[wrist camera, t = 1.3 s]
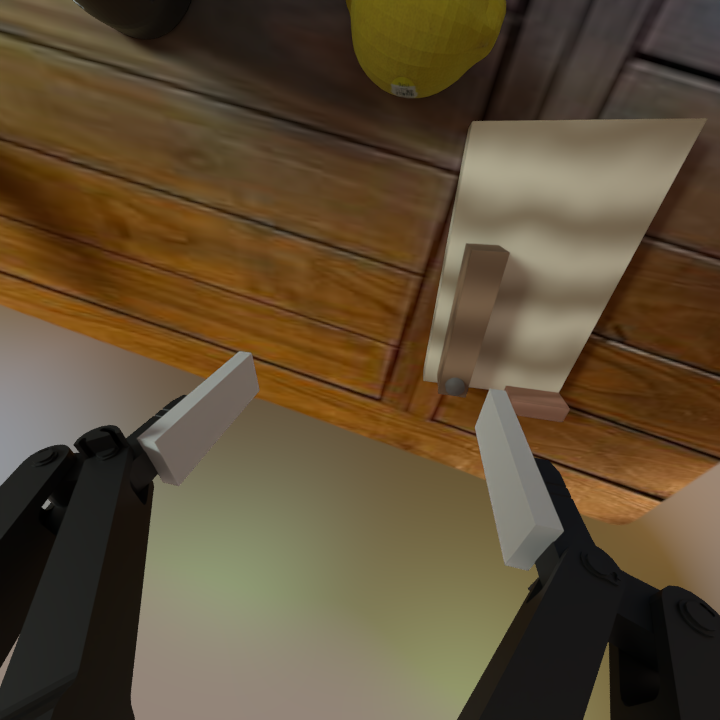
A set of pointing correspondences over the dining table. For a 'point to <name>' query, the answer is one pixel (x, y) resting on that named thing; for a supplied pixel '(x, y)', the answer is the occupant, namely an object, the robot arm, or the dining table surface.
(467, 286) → the walnut leg
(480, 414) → the robot arm
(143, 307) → the dining table surface
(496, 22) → the lemon
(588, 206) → the stool seat
